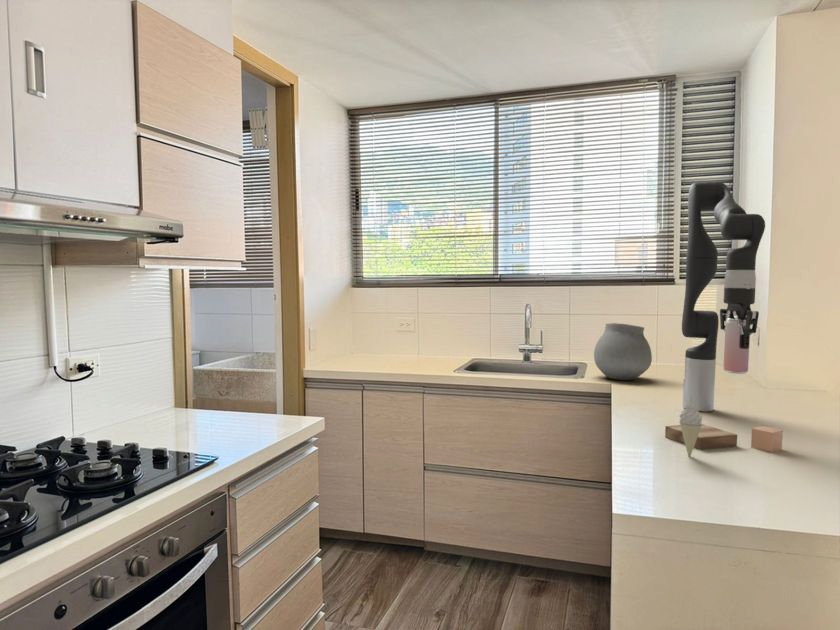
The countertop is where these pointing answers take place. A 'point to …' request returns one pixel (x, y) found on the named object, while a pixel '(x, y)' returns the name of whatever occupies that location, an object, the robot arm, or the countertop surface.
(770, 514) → the countertop surface
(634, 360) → the ceramic pot
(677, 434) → the pedestal
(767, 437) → the terracotta cube
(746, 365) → the beverage can
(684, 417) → the ice cream cone
